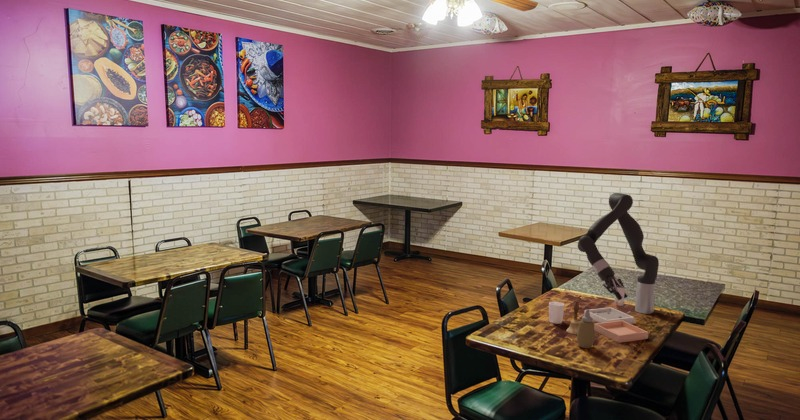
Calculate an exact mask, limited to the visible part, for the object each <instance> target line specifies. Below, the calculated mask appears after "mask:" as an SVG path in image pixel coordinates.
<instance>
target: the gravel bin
mask: <svg viewBox="0 0 800 420" xmlns="http://www.w3.org/2000/svg"><path fill="white" fill-rule="evenodd" d="M583 312H584V313H583V314H584V315H583V316H585V313H586V309H584V311H583ZM589 312H590V316H591V317H592V322H594V323H604V322H612V321H621V320H623V321H625V322H627V323H629V324H632V325H634V324H635V317H634V316H632V315H629V313H625V312H623V311H621V310H618V309H616V308H613V307H611V306H610V307H601V308H591V309H589Z"/></svg>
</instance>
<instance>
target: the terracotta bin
mask: <svg viewBox="0 0 800 420" xmlns="http://www.w3.org/2000/svg"><path fill="white" fill-rule="evenodd" d="M594 332H596V333H599V334H601V335H603V336H605V337H606V338H608V339H610V340H613V341H615V342H616V343H620V344H621V343H626V342H633V341H634V342H635V341H641V340H648V339H649V331H647V330H644V329H642V328H640V327H638V326H636V325H634V324H629V323H627V322H625V321H623V320H621V321H612V322H604V323H597V322H595V323H594Z"/></svg>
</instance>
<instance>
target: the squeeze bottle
mask: <svg viewBox="0 0 800 420" xmlns="http://www.w3.org/2000/svg"><path fill="white" fill-rule="evenodd" d="M585 310H586V313H585V316H584V315H581V320H579V328H578V333H577V334H576V340H577V344H578V346H579V348H580V347H581V348H583V349H591V348H592V347H593V345H594V342H595V340H596V339H595V331H594V324H595V322H594V321H593V320H592V317H591V316H590V312H589V310H590V309H585Z"/></svg>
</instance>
